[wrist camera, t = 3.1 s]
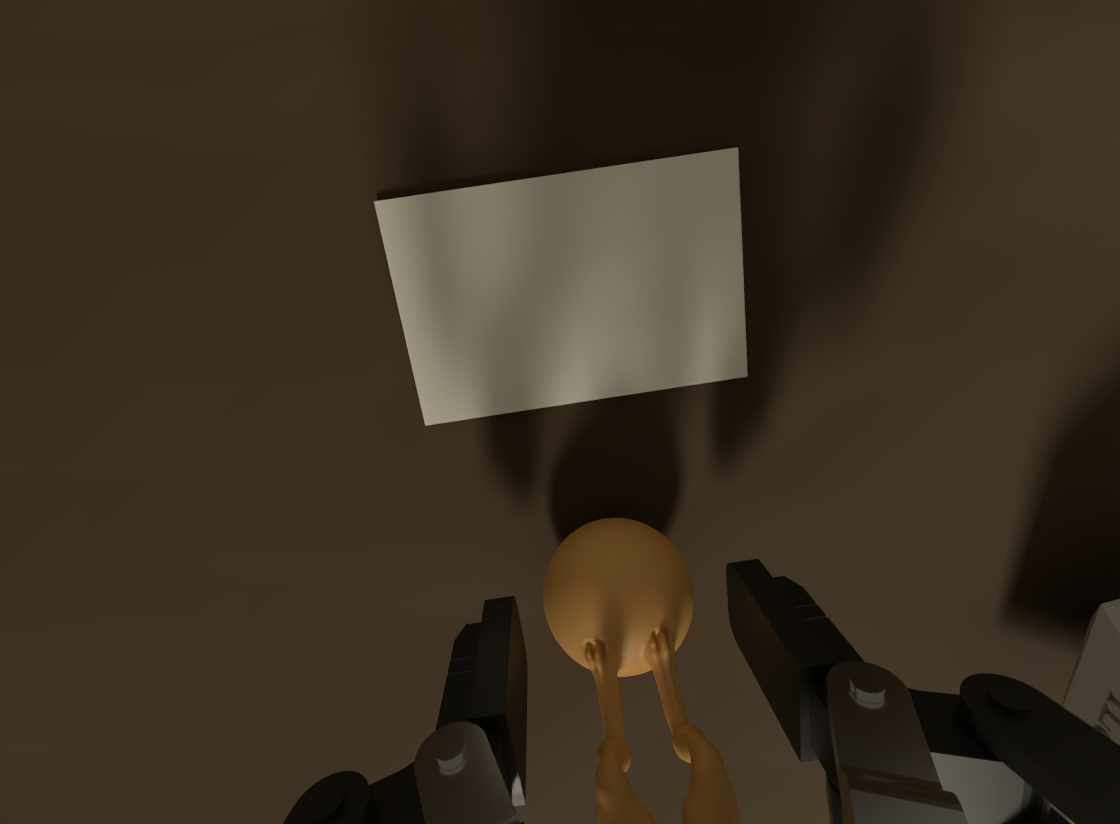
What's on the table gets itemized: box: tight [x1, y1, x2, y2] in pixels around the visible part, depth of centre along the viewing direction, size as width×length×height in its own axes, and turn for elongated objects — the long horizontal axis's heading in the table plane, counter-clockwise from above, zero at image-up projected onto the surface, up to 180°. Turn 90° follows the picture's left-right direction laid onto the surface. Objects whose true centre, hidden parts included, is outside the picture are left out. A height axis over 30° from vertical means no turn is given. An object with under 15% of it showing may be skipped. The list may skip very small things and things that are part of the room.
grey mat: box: [374, 147, 748, 426], centre depth 14 cm, size 9×6×1 cm, turn 98°
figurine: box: [543, 518, 741, 824], centre depth 10 cm, size 8×6×12 cm
